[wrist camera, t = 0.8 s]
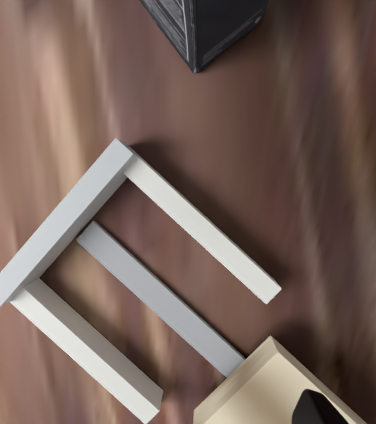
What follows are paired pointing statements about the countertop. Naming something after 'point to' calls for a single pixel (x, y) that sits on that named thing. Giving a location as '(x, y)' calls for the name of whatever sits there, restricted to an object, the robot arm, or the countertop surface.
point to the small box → (204, 25)
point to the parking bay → (123, 278)
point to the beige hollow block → (265, 391)
